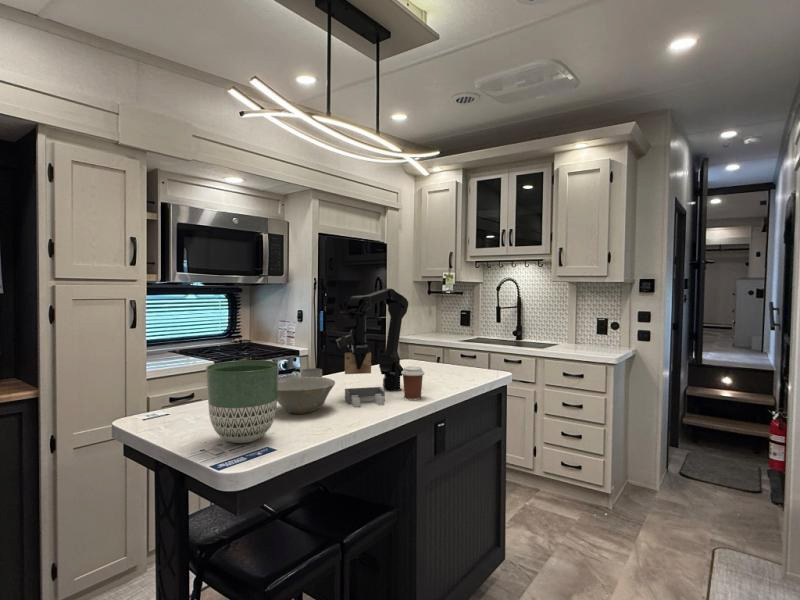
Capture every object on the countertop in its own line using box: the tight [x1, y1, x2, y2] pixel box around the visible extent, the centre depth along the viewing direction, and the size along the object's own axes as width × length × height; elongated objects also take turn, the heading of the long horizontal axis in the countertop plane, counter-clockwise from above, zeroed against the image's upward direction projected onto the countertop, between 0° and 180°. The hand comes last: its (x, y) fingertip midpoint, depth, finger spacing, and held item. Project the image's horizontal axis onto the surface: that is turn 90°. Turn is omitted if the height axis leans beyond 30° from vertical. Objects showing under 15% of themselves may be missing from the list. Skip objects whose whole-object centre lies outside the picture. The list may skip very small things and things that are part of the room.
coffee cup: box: [401, 365, 425, 401], centre depth 184 cm, size 9×9×12 cm
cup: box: [300, 368, 323, 378], centre depth 189 cm, size 8×8×10 cm
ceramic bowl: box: [277, 376, 336, 415], centre depth 165 cm, size 22×23×10 cm
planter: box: [205, 359, 280, 444], centre depth 133 cm, size 20×20×21 cm
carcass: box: [344, 386, 386, 408], centre depth 178 cm, size 14×12×4 cm
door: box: [344, 351, 372, 375], centre depth 182 cm, size 10×3×8 cm, turn 103°
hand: (358, 368), depth 182 cm, fingers closed on door, 2 cm apart
